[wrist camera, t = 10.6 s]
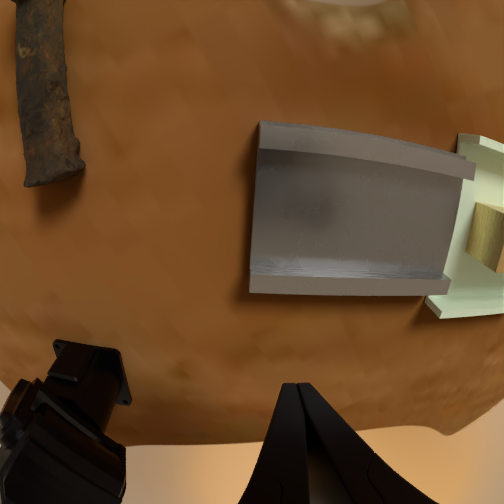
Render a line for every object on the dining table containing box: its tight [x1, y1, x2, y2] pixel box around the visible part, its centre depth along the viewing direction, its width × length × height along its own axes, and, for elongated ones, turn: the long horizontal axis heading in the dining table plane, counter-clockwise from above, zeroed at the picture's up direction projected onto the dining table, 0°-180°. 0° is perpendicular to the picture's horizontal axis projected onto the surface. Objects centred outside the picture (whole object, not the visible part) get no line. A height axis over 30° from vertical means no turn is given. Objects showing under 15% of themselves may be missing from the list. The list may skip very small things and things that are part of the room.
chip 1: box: [465, 202, 504, 273], centre depth 18 cm, size 4×4×4 cm
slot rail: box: [248, 121, 476, 296], centre depth 18 cm, size 10×14×2 cm
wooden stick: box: [11, 0, 86, 187], centre depth 13 cm, size 19×4×5 cm, turn 6°
